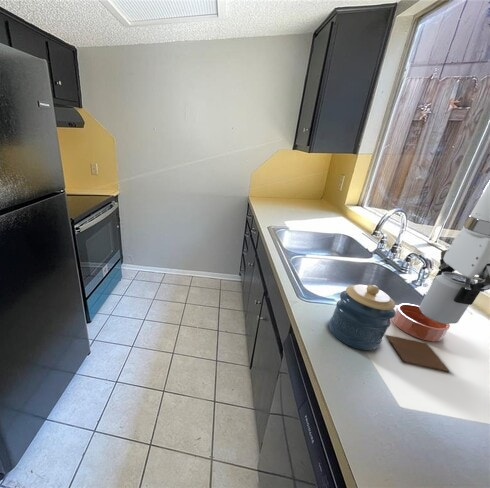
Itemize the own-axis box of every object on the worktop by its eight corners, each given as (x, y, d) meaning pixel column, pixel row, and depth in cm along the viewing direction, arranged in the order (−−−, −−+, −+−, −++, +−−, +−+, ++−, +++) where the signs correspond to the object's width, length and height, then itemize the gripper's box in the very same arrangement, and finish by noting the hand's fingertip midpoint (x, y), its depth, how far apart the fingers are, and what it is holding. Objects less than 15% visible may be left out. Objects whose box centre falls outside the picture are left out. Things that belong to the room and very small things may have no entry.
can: (417, 316, 67) (439, 276, 62) (417, 303, 72) (438, 266, 68) (457, 330, 63) (485, 289, 58) (455, 316, 68) (480, 277, 63)
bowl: (426, 320, 86) (433, 308, 84) (451, 346, 75) (460, 333, 73) (384, 312, 89) (390, 300, 87) (403, 336, 78) (410, 323, 76)
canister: (389, 345, 74) (416, 295, 67) (358, 356, 70) (384, 304, 63) (347, 316, 86) (366, 271, 78) (318, 324, 81) (336, 277, 74)
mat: (425, 344, 76) (426, 343, 75) (448, 372, 67) (449, 371, 67) (386, 336, 78) (386, 335, 78) (403, 361, 69) (404, 360, 69)
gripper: (552, 245, 49) (498, 318, 56) (480, 218, 64) (445, 278, 71) (501, 239, 51) (456, 311, 58) (443, 214, 66) (413, 273, 73)
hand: (450, 293), depth 65 cm, fingers closed on can, 7 cm apart
